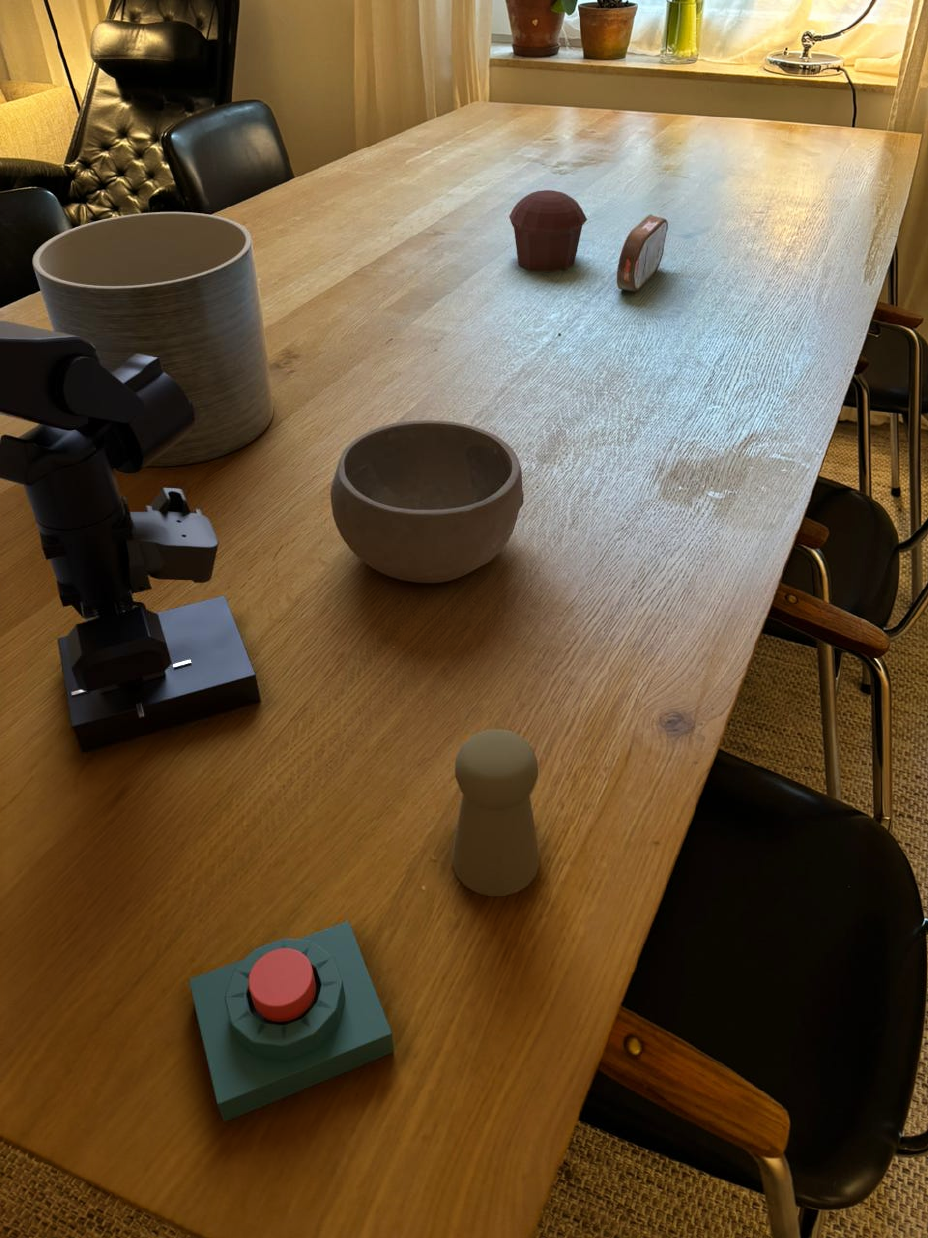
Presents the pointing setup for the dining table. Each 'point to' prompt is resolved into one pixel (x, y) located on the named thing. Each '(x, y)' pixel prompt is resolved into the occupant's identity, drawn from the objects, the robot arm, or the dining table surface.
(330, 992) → the button block
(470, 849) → the brown pawn
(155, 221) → the planter
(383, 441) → the bowl
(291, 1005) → the button
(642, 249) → the tin
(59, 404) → the robot arm
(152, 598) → the dining table surface
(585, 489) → the dining table surface
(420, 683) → the dining table surface
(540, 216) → the muffin
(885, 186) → the dining table surface
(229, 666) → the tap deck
